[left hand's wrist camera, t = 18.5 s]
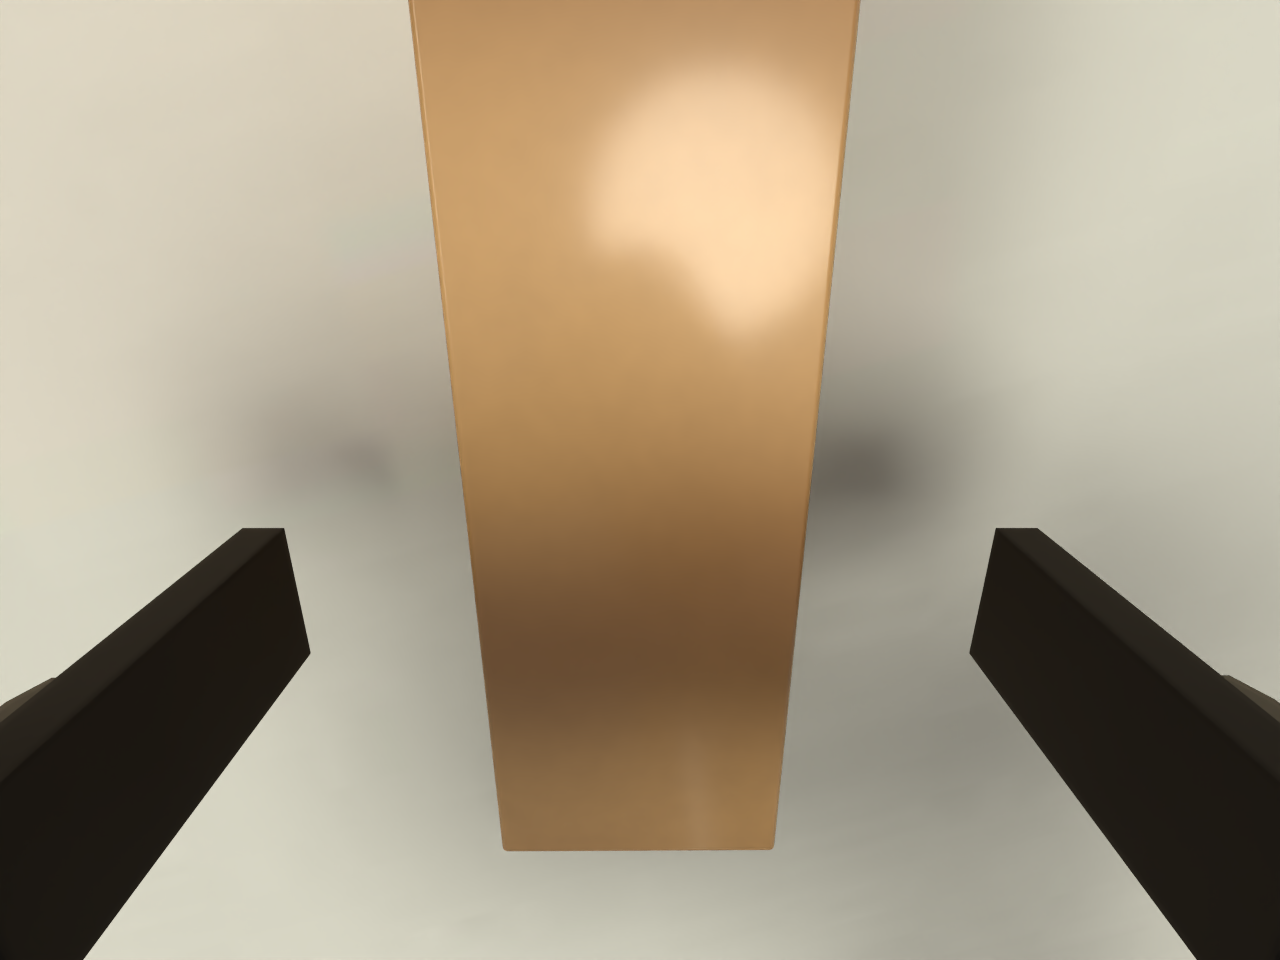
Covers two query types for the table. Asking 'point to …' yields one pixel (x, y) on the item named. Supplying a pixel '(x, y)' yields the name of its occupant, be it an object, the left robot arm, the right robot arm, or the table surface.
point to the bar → (636, 389)
